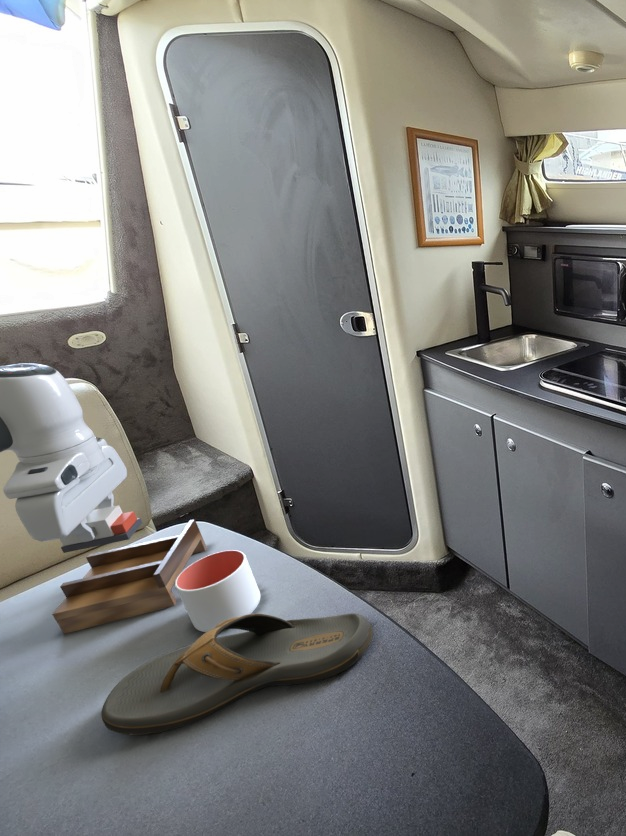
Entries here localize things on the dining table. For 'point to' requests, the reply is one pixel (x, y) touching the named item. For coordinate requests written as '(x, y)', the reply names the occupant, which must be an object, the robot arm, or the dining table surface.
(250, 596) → the cup
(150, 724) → the sandal
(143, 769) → the dining table surface
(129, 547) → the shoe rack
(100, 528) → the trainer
